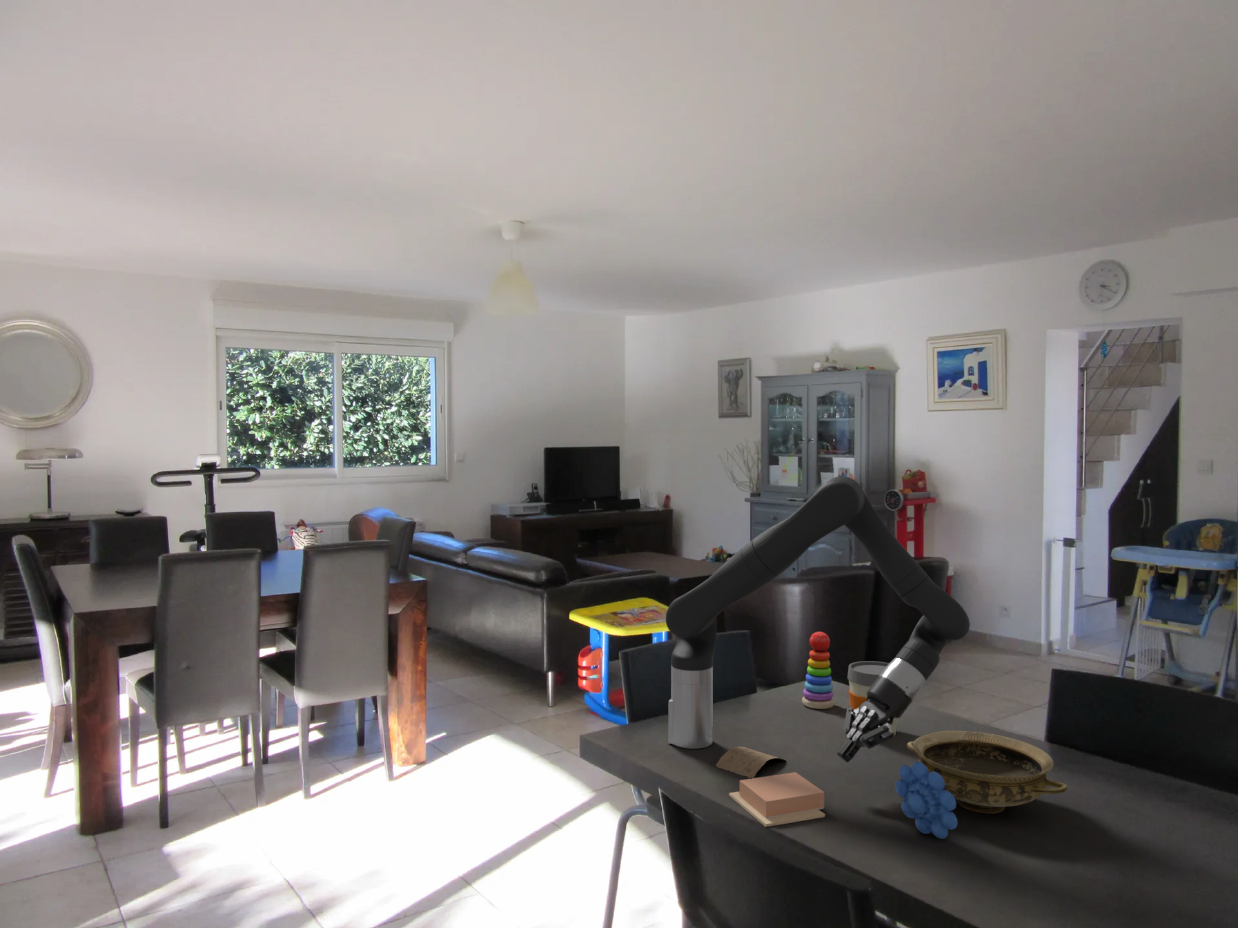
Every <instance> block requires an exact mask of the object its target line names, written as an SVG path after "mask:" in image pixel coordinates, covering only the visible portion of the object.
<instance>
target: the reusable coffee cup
mask: <svg viewBox="0 0 1238 928" xmlns="http://www.w3.org/2000/svg"><path fill="white" fill-rule="evenodd" d="M889 663H890V662H884V661H872V660H871V661H870V660H869V661H868V660H866V661H864V660H863V661H862V660H861V661H856V662H852V663H850V664H849V665H848V671H847V680H848V684H849V688H848V698H849V699H848V700H849V706H850V707H851V708H852V709H853V710H855V709H858V708H859V707H860V705H861V704H862V703H864V702H865V701H866V700H867V691H868V690H869V688H870V687H871V686H872V684H873V683H874V682H875V680H876V679H877V678H878V677H879V675H880V674H881V673H882V671H883V670H884V669H885V667H886V666H887V665H888V664H889ZM897 724H898V719H896V718H894V720H893V723H892V724H891V725H890V726H891V730H892V731H893V732H894V734H895V735H894V737H895V736H896V732H897V726H898V725H897ZM857 732H858V731H857Z"/></svg>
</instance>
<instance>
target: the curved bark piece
mask: <svg viewBox="0 0 1238 928" xmlns="http://www.w3.org/2000/svg"><path fill="white" fill-rule="evenodd" d="M774 759H778V760H781V761H784V762H787V759H786V760H785V759H784V758H780V757H778V756H774V755H771V754H767V753H765V752H761V751H758V750H755V749H751V748H748V747H746V746H738V747H737V746H735V747H733V748H730V749H728V751H727V750H726V752H725V753H724V754H722V755H721V757H720V758H719V760H718V761H717V763H716V765H715V766H716V767H717V768H719V769H721V768H722V769H723V770H724V771H728V770H729V772H731V773H734V772H735V773H734V774H737V775H739V776H740V775H741V776H743V777H746V776H747V777H746V778H748V777H749V778H748V779H751V778H752V779H753V778H755V776H756V775H757V773H758V772H759V770H761V769H762V767H763V766H764V765H765V764H766V762H767V761H769V760H774Z"/></svg>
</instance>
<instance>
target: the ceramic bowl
mask: <svg viewBox="0 0 1238 928" xmlns="http://www.w3.org/2000/svg"><path fill="white" fill-rule="evenodd" d="M906 747H907V748H908V750H910V751H911V752H912V753H913V754H915V755H916V756H917V757H919V760H918V762H921V763H923V764H924V765H925V766H926V767H927V769H928V772H929V773H930V772H934V771H935V772H937V773H939V774H940V775H941V776H942V777H943V780H944V783H945V787H944V789H943V790H942V791H944V790H946V791H949V792H950V793H951V794H952V795H953V796H954V797H955V800H956V803H958V804H959V805H960V806H961V807H962V808H965V809H967V810H968V811H972V812H976V813H982V814H983V813H984V814H998V813H1001V812H1004V810H1005V809H1006V808H1007V807H1015V806H1020V805H1024V804H1029V803H1030V802H1033V801H1034V800H1036V799H1038V798H1039V797H1040V796H1042V795H1043V794H1044V795H1059V794H1062V793H1065V792H1067V790H1068V785H1067V784H1066V783H1064V782H1060V781H1055V780H1049V779H1048V777H1047V773H1049V772H1050V771H1051V770H1052V769H1053V768H1054V764H1055V763H1054V760H1053V758H1052V756H1051V755H1050V754H1048V753H1047V752H1045V751H1044V750H1043V749H1041V748H1039V747H1038V746H1035V745H1033V744H1030V743H1027V742H1025V741H1022V740H1019V739H1016V738H1012V737H1007V736H1004V735H999V734H993V733H988V732H979V731H966V730H965V731H964V730H941V731H935V732H929V733H927V734H923V735H922V736H920V737H918V738H916V739H915V740H914V741H909V742H908V743H906ZM1047 787H1052V788H1047Z"/></svg>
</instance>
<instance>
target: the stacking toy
mask: <svg viewBox="0 0 1238 928" xmlns="http://www.w3.org/2000/svg"><path fill="white" fill-rule="evenodd" d="M809 645H810V647H811V648H812V650H810V651H809V655H808V656H809V657H810V658H809V659H808V660H807V665H808V666H807V669H806V671H807V674H805V680H806V681H805V682H804V689H803V691H802V696H803V697H802V698H801V702H802V704H803V706H806V707H808V708H810V709H815V710H816V709H817V710H828V709H831V708H833V707H834V705H835V700H834V698H833V697H834V693H833V691H832V690H833V688H834V687H833V683H832V681H833V677H832V676H831V674H832V669H831V667H830V666H831V663H830V660H829V659H830V655H831V654H830V652H829V651H827V650H828V649H829V647H830V645H831V639H830V637H829V635H828V634H827V633H825V632H823V631H816V632H813V633H812V634H811V635H810V638H809Z"/></svg>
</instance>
